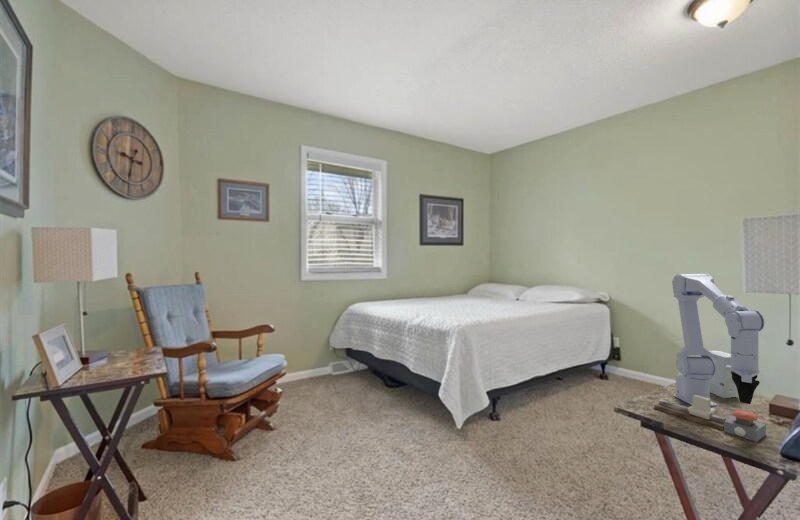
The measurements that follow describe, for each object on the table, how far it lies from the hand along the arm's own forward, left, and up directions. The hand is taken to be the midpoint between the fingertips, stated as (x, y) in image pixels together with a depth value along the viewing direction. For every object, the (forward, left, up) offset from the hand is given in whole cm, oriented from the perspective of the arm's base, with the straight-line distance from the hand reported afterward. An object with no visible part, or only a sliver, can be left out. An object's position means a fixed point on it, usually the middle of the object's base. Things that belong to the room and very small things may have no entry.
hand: (744, 400), depth 105 cm
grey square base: (0, 0, -9) cm, 9 cm away
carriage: (-9, -5, -8) cm, 13 cm away
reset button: (0, 0, -7) cm, 7 cm away
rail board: (-11, -6, -9) cm, 16 cm away
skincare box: (-28, +18, -10) cm, 34 cm away
